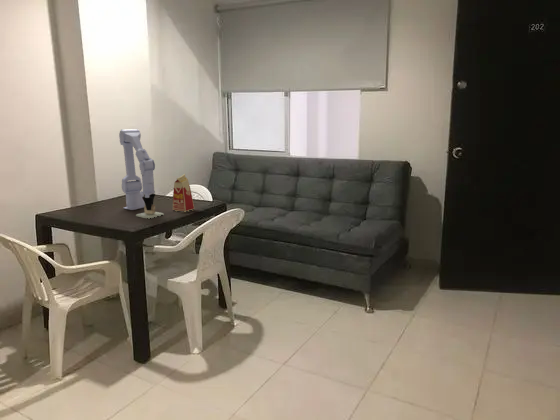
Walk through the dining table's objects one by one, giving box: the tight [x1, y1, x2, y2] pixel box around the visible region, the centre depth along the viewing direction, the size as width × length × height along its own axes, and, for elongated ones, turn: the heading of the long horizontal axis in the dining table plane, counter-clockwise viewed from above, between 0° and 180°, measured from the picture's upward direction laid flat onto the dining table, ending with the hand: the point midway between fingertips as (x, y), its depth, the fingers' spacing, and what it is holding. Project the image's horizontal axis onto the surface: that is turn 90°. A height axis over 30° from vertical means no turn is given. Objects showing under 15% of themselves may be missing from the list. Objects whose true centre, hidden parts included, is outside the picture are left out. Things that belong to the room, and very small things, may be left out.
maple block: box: [143, 204, 156, 214], centre depth 245 cm, size 4×4×4 cm
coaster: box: [135, 211, 165, 220], centre depth 245 cm, size 10×10×1 cm
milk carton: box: [172, 173, 195, 213], centre depth 256 cm, size 9×9×20 cm
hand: (149, 208), depth 245 cm, fingers closed on maple block, 5 cm apart
